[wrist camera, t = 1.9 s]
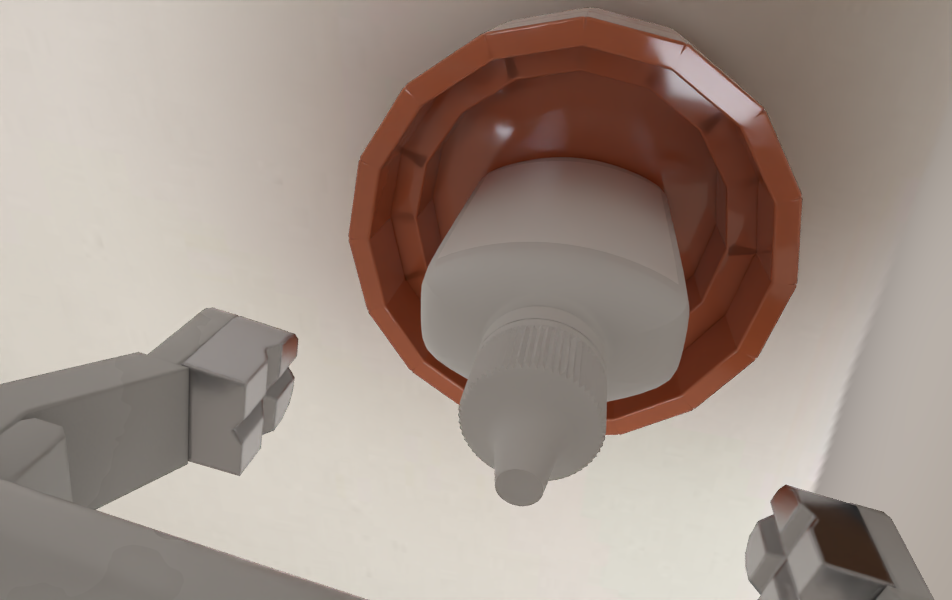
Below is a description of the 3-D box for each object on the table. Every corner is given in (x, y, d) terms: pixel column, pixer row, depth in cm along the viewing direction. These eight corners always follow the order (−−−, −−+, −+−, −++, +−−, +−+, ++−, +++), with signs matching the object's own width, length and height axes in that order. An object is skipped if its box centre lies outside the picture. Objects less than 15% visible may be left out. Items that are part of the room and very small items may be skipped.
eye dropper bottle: (532, 97, 18) (422, 270, 8) (691, 203, 19) (788, 499, 8) (457, 216, 20) (292, 478, 10) (602, 308, 21) (591, 650, 10)
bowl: (435, -37, 18) (385, -38, 14) (833, 69, 17) (900, 99, 13) (377, 302, 23) (329, 370, 19) (677, 392, 22) (690, 482, 19)
